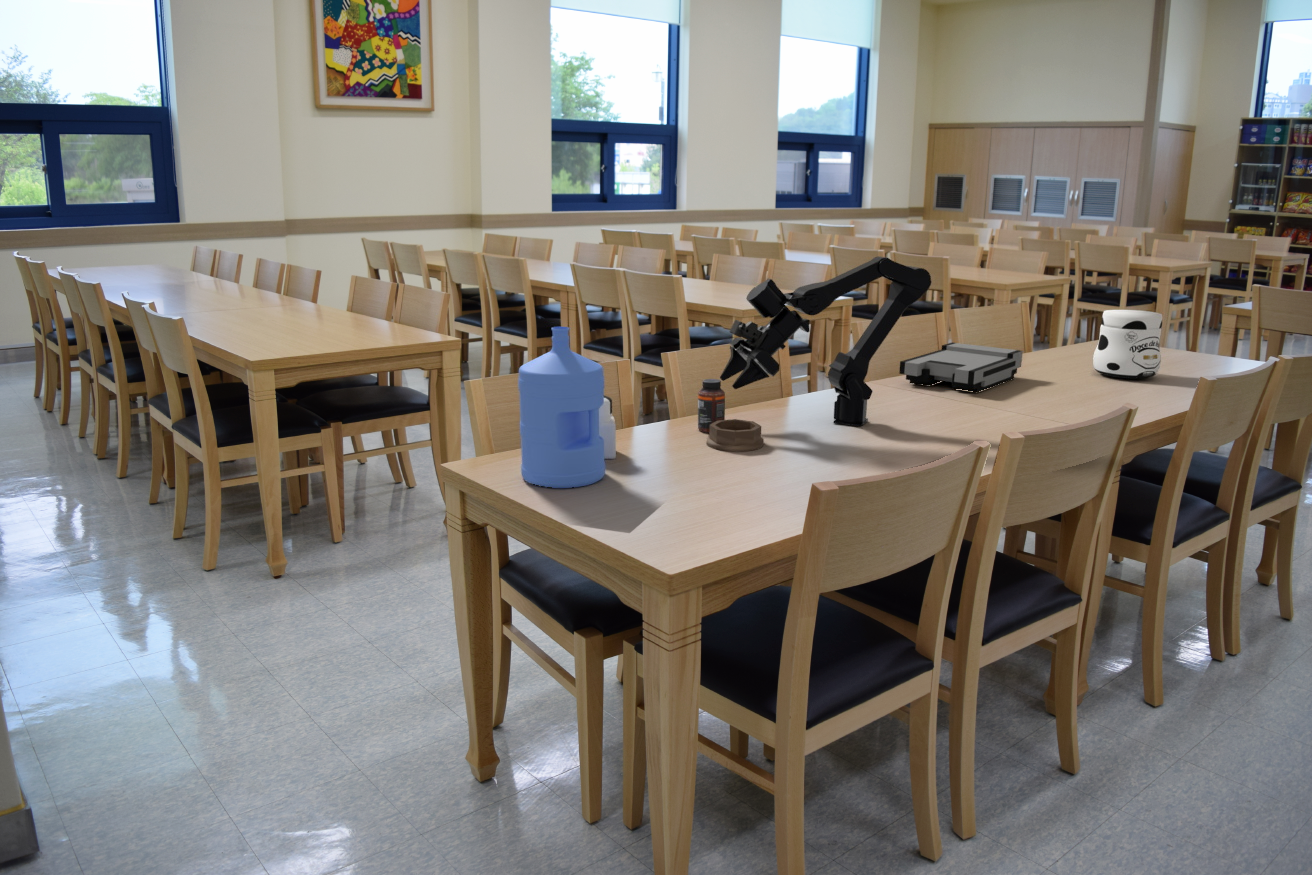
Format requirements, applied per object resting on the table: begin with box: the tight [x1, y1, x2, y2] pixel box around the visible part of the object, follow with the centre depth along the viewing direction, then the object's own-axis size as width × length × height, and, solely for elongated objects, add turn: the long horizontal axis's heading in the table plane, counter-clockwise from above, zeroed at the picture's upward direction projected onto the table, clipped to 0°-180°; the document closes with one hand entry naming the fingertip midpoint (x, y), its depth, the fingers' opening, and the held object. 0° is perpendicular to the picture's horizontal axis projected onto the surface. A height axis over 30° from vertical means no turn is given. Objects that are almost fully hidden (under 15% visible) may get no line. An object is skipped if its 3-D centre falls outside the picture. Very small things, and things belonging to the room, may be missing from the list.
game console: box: [898, 342, 1024, 392], centre depth 266 cm, size 21×32×8 cm, turn 139°
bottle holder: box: [706, 418, 765, 453], centre depth 204 cm, size 12×12×4 cm
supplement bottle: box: [697, 378, 726, 434], centre depth 214 cm, size 6×6×11 cm
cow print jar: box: [1092, 309, 1163, 380], centre depth 274 cm, size 17×17×18 cm
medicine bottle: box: [599, 395, 617, 460], centre depth 194 cm, size 7×7×12 cm
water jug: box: [517, 326, 606, 489], centre depth 178 cm, size 16×16×28 cm
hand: (727, 383), depth 213 cm, fingers open, 9 cm apart
